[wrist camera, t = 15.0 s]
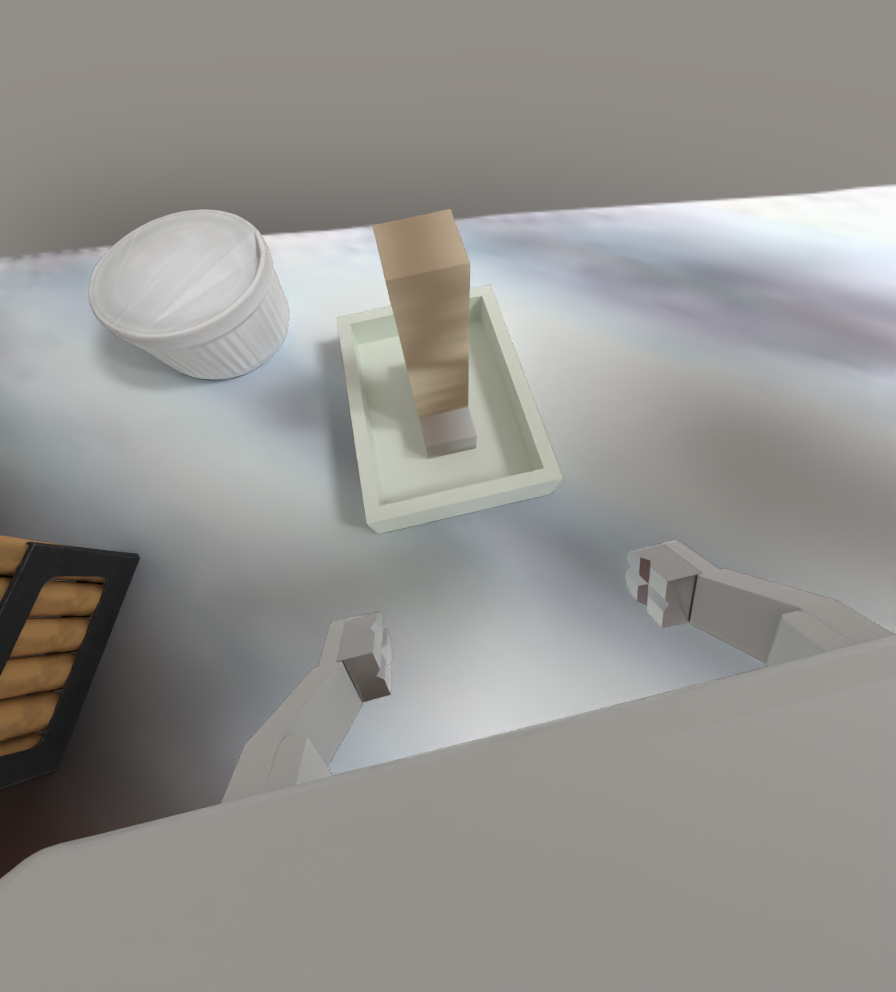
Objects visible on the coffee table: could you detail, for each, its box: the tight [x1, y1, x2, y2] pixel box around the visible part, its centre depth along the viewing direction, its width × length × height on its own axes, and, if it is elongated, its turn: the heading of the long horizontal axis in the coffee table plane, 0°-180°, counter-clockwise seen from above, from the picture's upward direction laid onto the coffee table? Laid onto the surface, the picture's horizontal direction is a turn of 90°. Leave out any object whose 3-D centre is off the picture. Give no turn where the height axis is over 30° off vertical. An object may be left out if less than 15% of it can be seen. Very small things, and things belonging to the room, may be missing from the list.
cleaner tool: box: [373, 209, 477, 459], centre depth 17 cm, size 3×7×10 cm, turn 13°
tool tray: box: [337, 285, 563, 534], centre depth 21 cm, size 11×15×2 cm
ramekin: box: [89, 210, 290, 380], centre depth 23 cm, size 11×11×5 cm
